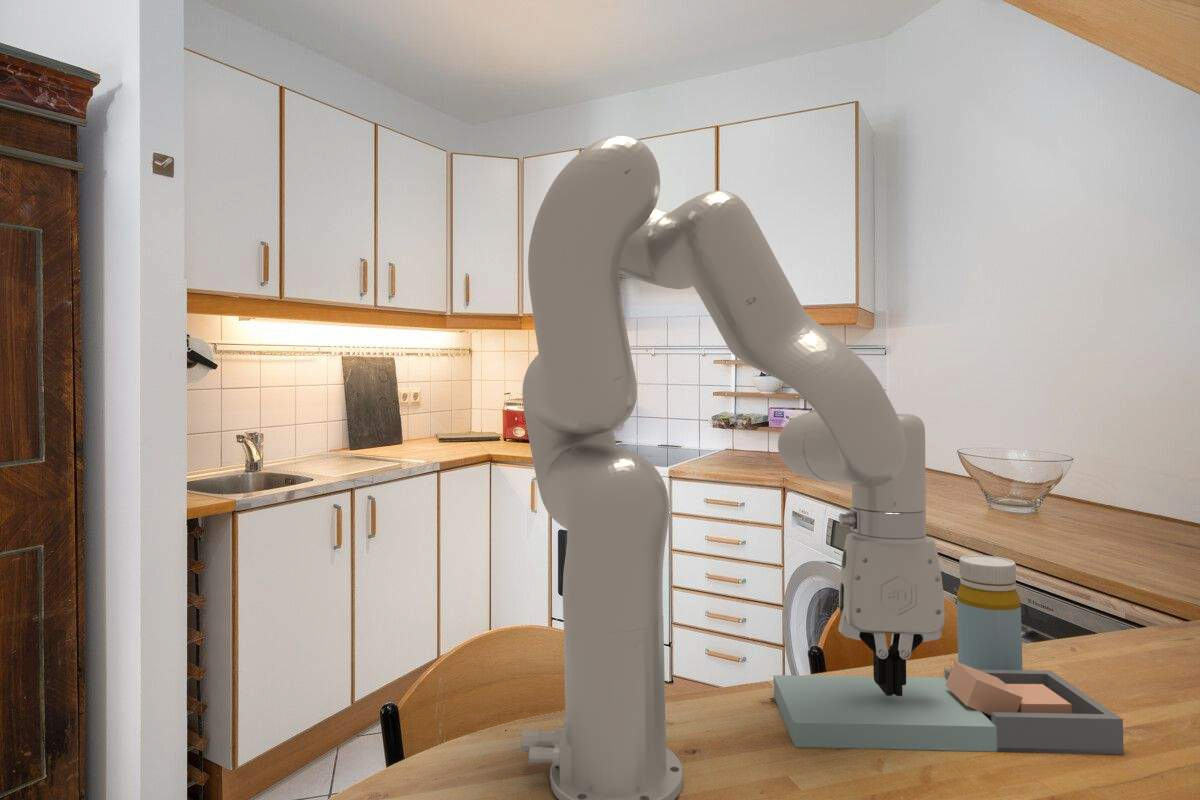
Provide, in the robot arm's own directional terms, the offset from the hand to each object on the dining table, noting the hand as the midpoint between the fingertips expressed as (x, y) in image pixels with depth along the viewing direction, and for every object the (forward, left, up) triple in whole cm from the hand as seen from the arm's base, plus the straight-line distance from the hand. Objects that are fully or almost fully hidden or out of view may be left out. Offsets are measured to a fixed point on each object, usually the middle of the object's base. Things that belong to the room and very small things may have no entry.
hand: (889, 690), depth 73 cm
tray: (+14, 0, -4) cm, 15 cm away
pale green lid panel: (-2, 0, -4) cm, 4 cm away
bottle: (+16, +12, -4) cm, 21 cm away
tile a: (+9, 0, -1) cm, 9 cm away
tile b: (+15, 0, -3) cm, 15 cm away
